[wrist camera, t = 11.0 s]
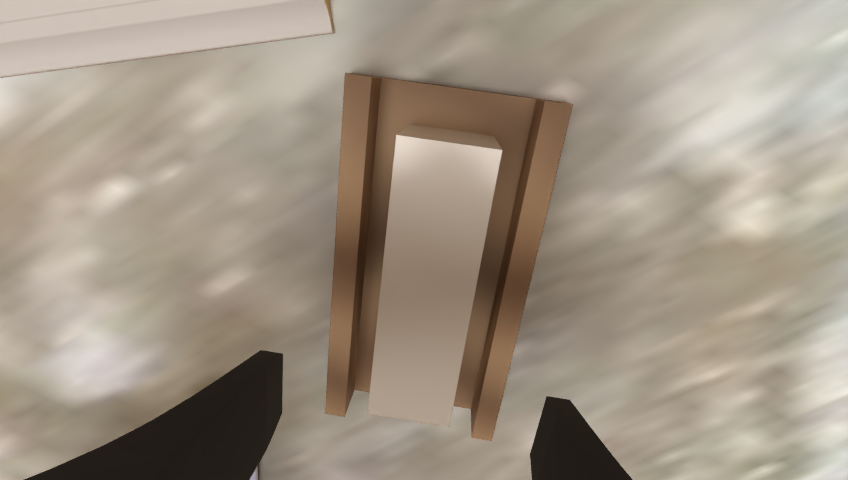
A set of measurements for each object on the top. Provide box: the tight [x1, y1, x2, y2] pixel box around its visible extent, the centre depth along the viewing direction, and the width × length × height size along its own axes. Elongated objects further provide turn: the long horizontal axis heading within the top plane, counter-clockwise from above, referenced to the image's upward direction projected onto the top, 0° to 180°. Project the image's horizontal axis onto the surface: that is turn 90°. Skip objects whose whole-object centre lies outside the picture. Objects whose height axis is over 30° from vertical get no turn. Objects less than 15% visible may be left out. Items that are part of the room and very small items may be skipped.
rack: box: [325, 73, 573, 441], centre depth 20 cm, size 16×9×3 cm, turn 173°
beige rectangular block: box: [368, 124, 502, 427], centre depth 18 cm, size 12×4×4 cm, turn 173°
